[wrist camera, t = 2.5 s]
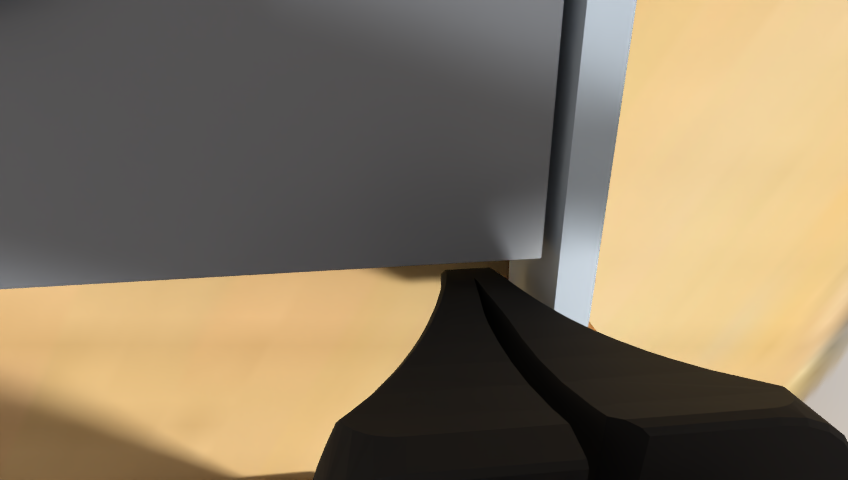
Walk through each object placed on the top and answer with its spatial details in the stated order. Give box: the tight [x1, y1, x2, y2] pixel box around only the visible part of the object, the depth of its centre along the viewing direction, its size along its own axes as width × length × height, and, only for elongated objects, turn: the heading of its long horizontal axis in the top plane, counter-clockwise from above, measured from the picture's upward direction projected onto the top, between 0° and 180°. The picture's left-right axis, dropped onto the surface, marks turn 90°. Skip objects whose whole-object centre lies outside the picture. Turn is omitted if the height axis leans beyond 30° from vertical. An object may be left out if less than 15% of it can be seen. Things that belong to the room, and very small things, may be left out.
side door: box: [508, 0, 637, 331], centre depth 9 cm, size 13×1×4 cm, turn 2°
